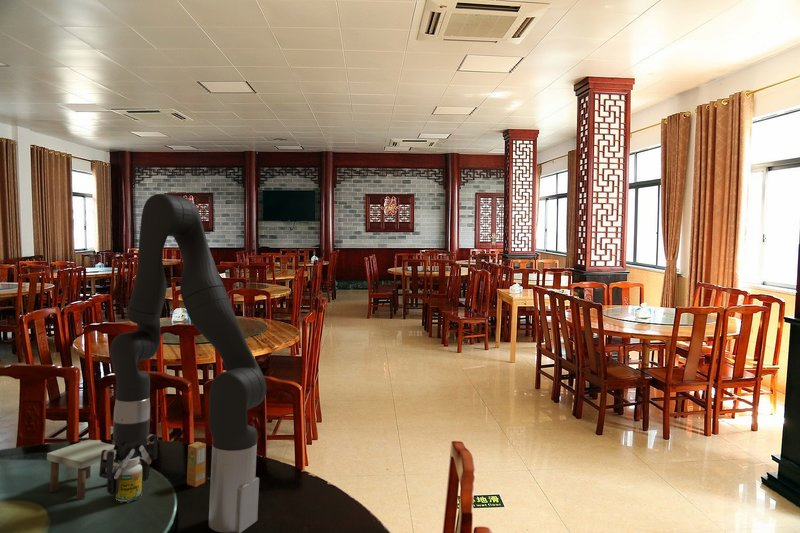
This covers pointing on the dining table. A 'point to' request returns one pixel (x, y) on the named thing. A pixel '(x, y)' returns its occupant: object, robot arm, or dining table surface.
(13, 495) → the dining table surface
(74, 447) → the stool
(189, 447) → the supplement box
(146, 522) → the dining table surface
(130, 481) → the supplement bottle
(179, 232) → the robot arm
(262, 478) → the dining table surface
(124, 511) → the dining table surface
